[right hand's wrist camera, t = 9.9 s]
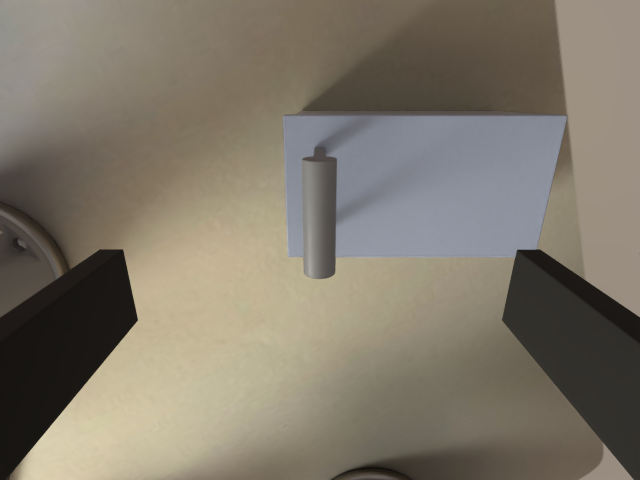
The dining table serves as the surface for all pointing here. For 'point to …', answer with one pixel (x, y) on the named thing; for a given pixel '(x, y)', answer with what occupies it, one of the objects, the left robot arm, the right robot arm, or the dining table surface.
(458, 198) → the lid
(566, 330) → the right robot arm
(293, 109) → the dining table surface
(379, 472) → the left robot arm
